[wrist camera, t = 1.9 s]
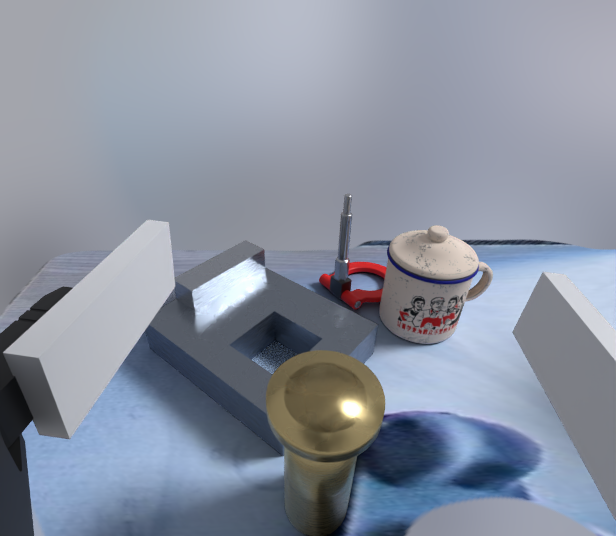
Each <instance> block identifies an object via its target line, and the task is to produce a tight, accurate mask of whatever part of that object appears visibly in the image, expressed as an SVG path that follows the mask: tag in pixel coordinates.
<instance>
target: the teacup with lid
mask: <svg viewBox="0 0 616 536" xmlns="http://www.w3.org/2000/svg"><path fill="white" fill-rule="evenodd" d="M387 255H388V263H387V269H386V274H385V280H384V286H383V291H382V297H381V303H380V309H379V313H380V317H381V320H382V322H383V323H384V325H385V326H386V327H387V328H388V329H389V330H390V331H391V332H392V333H394V334H395V335H397V336H399V337H401V338H403V339H405V340H408V341H411V342H415V343H421V344H432V343H438V342H441V341H444V340H446V339H448V338H449V337H450V336H451V335H452V334H453V333H454V331H455V329H456V326H457V323H458V321H459V318H460V315H461V312H462V309H463V306H464V303H465V302H466V301H470V300H473V299H475V298H477V297H479V296H480V295H481V294H482V293H483V292H484V291H485V290H486V289H487V288H488V287H489V285H490V283H491V281H492V278H493V272H492V270H491V269H490V267H489V266H488V265H487V264H485V263H483V262H479V260H478V257H477V254H476V253H475V251H474V250H473V249H472V248H471V247H470V246H469V245H468V244H466V243H465V242H463V241H462V240H460V239H458V238H456V237H453V236H451V235H449V232H448V230H447V229H446V228H445V227H442V226H432V227H430V228H429V229H428V231H427V230H417V231H410V232H406V233H403V234H400V235H398V236H397V237H395V238H394V239H393V240H392V242H391V243H390V245H389V247H388V250H387ZM478 271H483V275H482V278H481V279H480V281H479V282H478V283H477V284H476V285H475V286H474V287H473V288H472V289H470V290H469V288H470V285H471V282H472V279H473V277H474V276H475V275H476V274H477V272H478Z"/></svg>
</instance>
